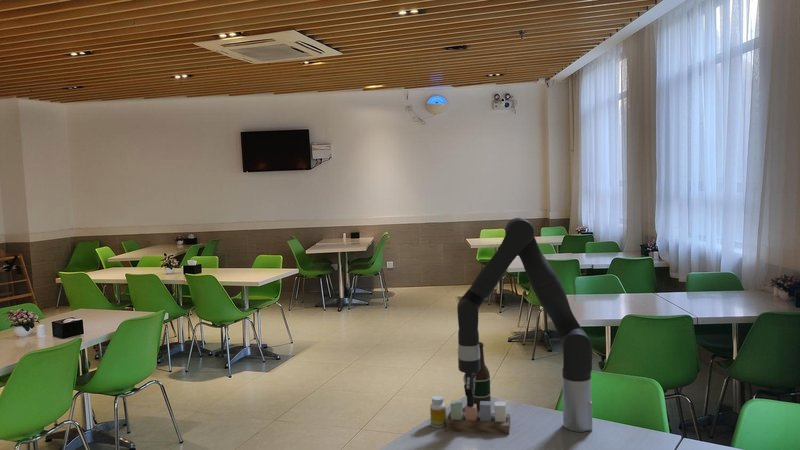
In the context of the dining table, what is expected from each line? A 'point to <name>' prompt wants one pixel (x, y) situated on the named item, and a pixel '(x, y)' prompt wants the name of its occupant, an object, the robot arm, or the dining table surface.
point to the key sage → (456, 410)
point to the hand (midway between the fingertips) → (470, 405)
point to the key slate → (485, 411)
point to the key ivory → (500, 411)
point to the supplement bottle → (438, 412)
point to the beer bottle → (482, 381)
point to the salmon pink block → (471, 413)
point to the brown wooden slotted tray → (478, 425)
